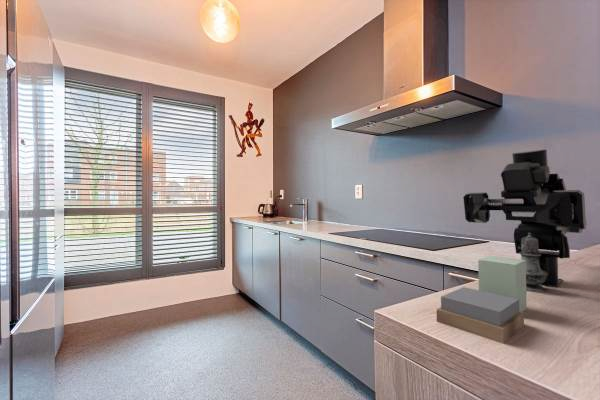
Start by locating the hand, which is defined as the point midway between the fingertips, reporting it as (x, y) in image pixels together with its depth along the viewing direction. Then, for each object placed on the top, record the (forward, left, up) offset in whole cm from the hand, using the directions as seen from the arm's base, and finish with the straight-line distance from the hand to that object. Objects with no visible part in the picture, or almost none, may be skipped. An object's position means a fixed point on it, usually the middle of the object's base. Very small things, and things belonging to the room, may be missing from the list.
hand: (502, 217), depth 51 cm
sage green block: (+1, 0, -16) cm, 16 cm away
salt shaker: (-17, 0, -16) cm, 23 cm away
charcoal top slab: (+11, 0, -14) cm, 18 cm away
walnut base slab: (+11, 0, -17) cm, 20 cm away
